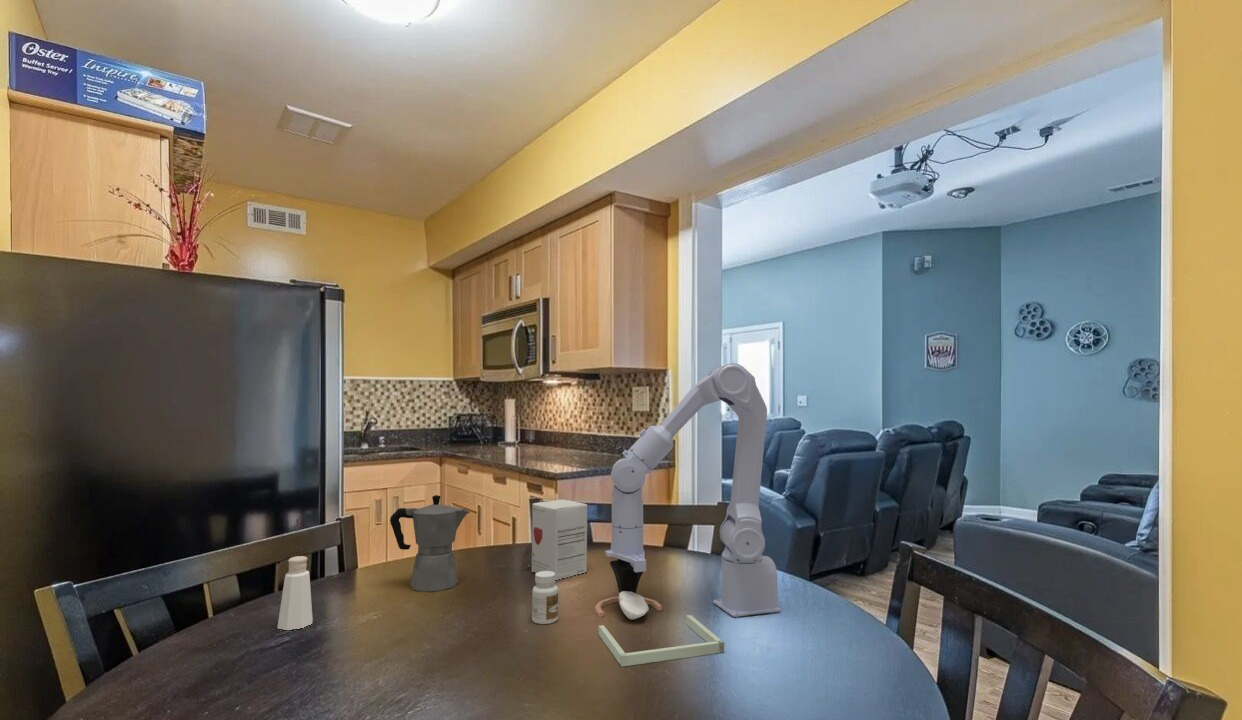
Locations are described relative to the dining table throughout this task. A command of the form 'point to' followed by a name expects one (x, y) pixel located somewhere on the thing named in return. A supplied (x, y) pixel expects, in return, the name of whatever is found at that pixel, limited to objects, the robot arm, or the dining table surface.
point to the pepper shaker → (296, 596)
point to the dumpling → (632, 604)
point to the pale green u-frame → (670, 653)
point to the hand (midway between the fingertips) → (627, 602)
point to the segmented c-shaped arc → (616, 599)
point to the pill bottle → (545, 598)
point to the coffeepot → (431, 544)
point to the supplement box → (559, 537)
